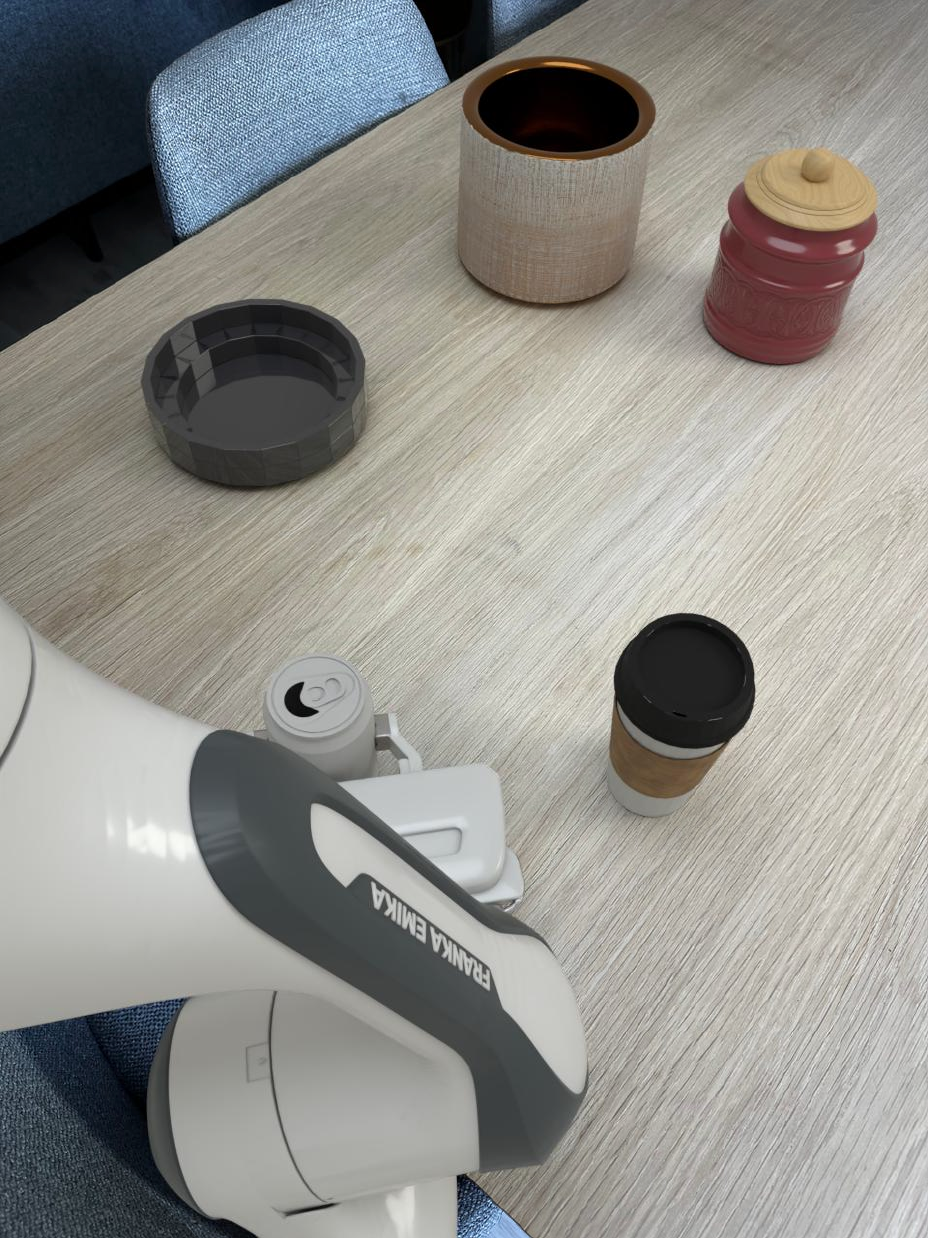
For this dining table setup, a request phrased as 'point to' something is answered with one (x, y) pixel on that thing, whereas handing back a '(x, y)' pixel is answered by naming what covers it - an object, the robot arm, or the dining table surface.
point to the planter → (552, 176)
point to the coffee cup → (675, 709)
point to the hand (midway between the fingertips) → (321, 726)
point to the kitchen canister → (789, 255)
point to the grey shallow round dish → (256, 391)
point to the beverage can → (323, 715)
